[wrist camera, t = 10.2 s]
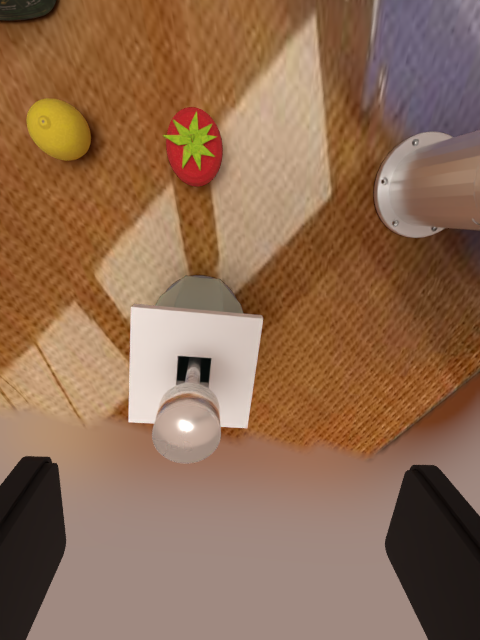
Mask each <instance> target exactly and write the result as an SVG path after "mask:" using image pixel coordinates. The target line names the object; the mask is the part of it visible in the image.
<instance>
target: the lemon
mask: <svg viewBox="0 0 480 640" xmlns="http://www.w3.org/2000/svg"><path fill="white" fill-rule="evenodd" d="M27 128H28V131H29V134H30V136H31V137H32V139H33V141H34V142H35V143H36V144H37V146H38V147H39V148H40V149H41V150H43V151H44V152H45V153H47V154H48V155H50V156H52V157H54V158H56V159H60V160H66V161H68V160H75V159H78V158H80V157H82V156H83V155H84V154H85V153H86V152H87V150H88V149H89V146H90V143H91V134H90V129H89V126H88V124H87V122H86V120H85V119H84V117H83V116H82V114H81V113H80V112H79V111H78V110H77V109H76V108H74V107H73V106H71V105H70V104H68V103H66V102H64V101H61V100H58V99H48V98H47V99H42V100H39V101H37V102H36V103H34V104H33V105H32V106H31V108H30V109H29V111H28V114H27Z"/></svg>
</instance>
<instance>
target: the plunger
mask: <svg viewBox="0 0 480 640" xmlns="http://www.w3.org/2000/svg"><path fill="white" fill-rule="evenodd" d="M200 369H201V357H189V361H188V367H187V374H186V381H185V383H182V384H178V385H176V386H174V387H172V388H170V389H169V390H168V391H167V392H166V393H165V394H164V395H163V397H162V399H161V401H160V404H159V408H158V412H157V415H156V419H155V423H154V427H153V431H152V439H153V443H154V445H155V447H156V449H157V450H158V452H159V453H160V454H161V455H163V456H164V457H165V458H167V459H169V460H171V461H174V462H178V463H194V462H198V461H201V460H203V459H205V458H207V457H208V456H210V455H211V454H212V453H213V452H214V451H215V450H216V448H217V446H218V444H219V442H220V438H221V427H220V407H219V402H218V399H217V397H216V396H215V394H214V393H213V392H212V391H211V390H210V389H208V388H207V387H205V386H203V385H201V384H200Z"/></svg>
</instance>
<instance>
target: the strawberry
mask: <svg viewBox="0 0 480 640" xmlns="http://www.w3.org/2000/svg"><path fill="white" fill-rule="evenodd" d="M163 136H164V137H165V138H167V139H166V150H167V155H168V159H169V162H170V165H171V167H172V169H173V171H174V172H175V174H176V175H177V176H178V177H179V178H180V179H181V180H182V181H183V182H185V183H186V184H188V185H191V186H203V185H205V184H207V183H209V182H210V181H211V180H213V178H214V177H215V176H216V174H217V172H218V170H219V168H220V165H221V161H222V151H223V147H222V139H221V136H220V132H219V130H218V128H217V125H216V124H215V122H214V121H213V119H212V118H211V117H210V116H209V115H208V114H207V113H206V112H204V111H203V110H201V109H199V108H196V107H188V108H184V109H182V110H180V111H179V112H178V113H177V114H176V115H175V116H174V117H173V119H172V120H171V123H170V125H169V128H168V132H167V135H163Z"/></svg>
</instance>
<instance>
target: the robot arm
mask: <svg viewBox="0 0 480 640" xmlns="http://www.w3.org/2000/svg"><path fill="white" fill-rule="evenodd" d="M412 142H413V145H412ZM381 180H383V183H381ZM374 202H375V206H376V210H377V213H378V215H379V217H380V219H381V221H382V222H383V223H384V224H385V226H386V227H388V228H389V229H390V230H391V231H393V232H394V233H397V234H399V235H401V236H406V237H412V238H420V237H427V236H430V235H433V234H435V233H438V232H440V231H442V230H443V229H444V228H454V229H467V230H480V130H477V131H474V132H470V133H467V134H464V135H460V136H457V137H454V138H453V137H452V136H450V135H448V134H445V133H441V132H425V133H420V134H417V135H414V136H412V137H410V138H408V139H406V140H404V141H402V142H401V143H400V144H398V145H397V146H396V147H395V148H394V149H393V150H392V151H391V152H390V153H389V154H388V155H387V157H386V158H385V160H384V161H383V163H382V164H381V167H380V169H379V171H378V173H377V177H376V181H375V186H374ZM392 222H393V225H392ZM431 227H432V228H431ZM65 546H66V534H65V525H64V516H63V507H62V498H61V488H60V480H59V470H58V465H57V463H52V461H51V459H50V457H34V456H33V457H32V456H26V457H23V458H22V459H21V460H20V461H19V462H18V464H17V465H16V466H15V467H14V469H13V470H12V471H11V473H10V474H9V475H8V476H7V478H6V479H5V480H4V482H3V483H2V484H1V485H0V640H26V638H27V636H28V633H29V631H30V629H31V627H32V624H33V622H34V620H35V618H36V615H37V613H38V611H39V609H40V607H41V604H42V602H43V600H44V598H45V595H46V593H47V591H48V588H49V586H50V584H51V582H52V580H53V577H54V575H55V573H56V571H57V568H58V566H59V563H60V562H61V559H62V557H63V554H64V551H65ZM385 548H386V553H387V555H388V558H389V560H390V562H391V564H392V566H393V568H394V570H395V572H396V574H397V576H398V578H399V580H400V582H401V585H402V587H403V589H404V590H405V593H406V595H407V597H408V599H409V601H410V603H411V605H412V607H413V609H414V611H415V613H416V615H417V617H418V619H419V621H420V623H421V626H422V628H423V630H424V632H425V634H426V636H427V638H428V640H480V516H479V515H478V514H477V513H476V511H475V510H474V509H473V508H472V507H471V506H470V504H469V503H468V502H467V501H466V500H465V498H464V497H463V496H462V495H461V494H460V492H459V491H458V490H457V489H456V488H455V487H454V485H452V483H451V482H450V481H449V479H448V478H447V477H446V476H445V475H444V474H443V472H442V471H441V470H440V469H439V468H438V467H437V466H434V465H413V466H411V468H410V470H407V471H406V472H405V475H404V478H403V481H402V485H401V488H400V492H399V495H398V498H397V502H396V506H395V509H394V512H393V516H392V519H391V522H390V526H389V529H388V533H387V536H386V540H385Z"/></svg>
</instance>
